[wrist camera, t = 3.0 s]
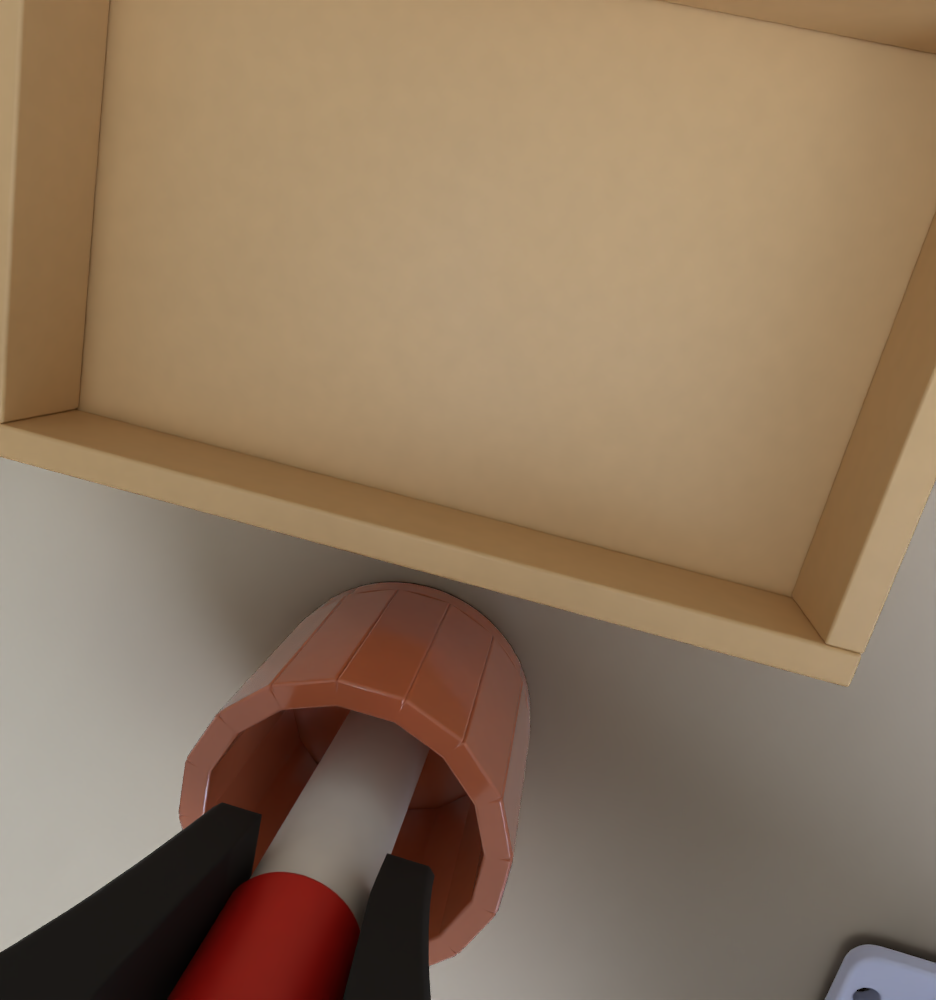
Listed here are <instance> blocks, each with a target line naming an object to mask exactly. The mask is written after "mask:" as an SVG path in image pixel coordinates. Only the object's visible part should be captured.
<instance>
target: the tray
mask: <svg viewBox="0 0 936 1000" xmlns="http://www.w3.org/2000/svg"><path fill="white" fill-rule="evenodd" d="M0 457H3V458H6V459H10V460H14V461H18V462H21V463H25V464H29V465H32V466H36V467H40V468H43V469H47V470H51V471H54V472H58V473H62V474H65V475H69V476H73V477H76V478H80V479H84V480H87V481H91V482H95V483H98V484H102V485H106V486H109V487H113V488H117V489H120V490H124V491H128V492H132V493H135V494H139V495H143V496H146V497H150V498H154V499H157V500H161V501H165V502H168V503H172V504H176V505H179V506H183V507H187V508H190V509H194V510H198V511H201V512H205V513H209V514H212V515H216V516H220V517H223V518H227V519H231V520H234V521H238V522H242V523H246V524H249V525H253V526H257V527H260V528H264V529H268V530H271V531H275V532H279V533H282V534H286V535H290V536H293V537H297V538H301V539H304V540H308V541H312V542H315V543H319V544H323V545H326V546H330V547H334V548H337V549H341V550H345V551H349V552H352V553H356V554H360V555H363V556H367V557H371V558H374V559H378V560H382V561H385V562H389V563H393V564H396V565H400V566H404V567H407V568H411V569H415V570H418V571H422V572H426V573H429V574H433V575H437V576H440V577H444V578H448V579H451V580H455V581H459V582H463V583H466V584H470V585H474V586H477V587H481V588H485V589H488V590H492V591H496V592H499V593H503V594H507V595H510V596H514V597H518V598H521V599H525V600H529V601H532V602H536V603H540V604H543V605H547V606H551V607H554V608H558V609H562V610H565V611H569V612H573V613H577V614H580V615H584V616H588V617H591V618H595V619H599V620H602V621H606V622H610V623H613V624H617V625H621V626H624V627H628V628H632V629H635V630H639V631H643V632H646V633H650V634H654V635H657V636H661V637H665V638H668V639H672V640H676V641H679V642H683V643H687V644H691V645H694V646H698V647H702V648H705V649H709V650H713V651H716V652H720V653H724V654H727V655H731V656H735V657H738V658H742V659H746V660H749V661H753V662H757V663H760V664H764V665H768V666H771V667H775V668H779V669H782V670H786V671H790V672H794V673H797V674H801V675H805V676H808V677H812V678H816V679H819V680H823V681H827V682H830V683H834V684H838V685H841V686H845V687H848V686H849V685H850V683H851V681H852V679H853V676H854V674H855V671H856V669H857V667H858V664H859V662H860V659H861V654H860V653H864V651H865V649H866V647H867V644H868V642H869V639H870V637H871V635H872V632H873V630H874V627H875V625H876V623H877V620H878V618H879V615H880V613H881V611H882V608H883V606H884V603H885V601H886V599H887V596H888V594H889V591H890V589H891V586H892V584H893V582H894V579H895V577H896V574H897V572H898V570H899V567H900V565H901V562H902V560H903V558H904V555H905V553H906V550H907V548H908V546H909V543H910V541H911V538H912V536H913V534H914V531H915V529H916V526H917V524H918V522H919V519H920V517H921V514H922V512H923V509H924V507H925V505H926V502H927V500H928V497H929V495H930V493H931V490H932V488H933V485H934V483H935V481H936V0H0Z"/></svg>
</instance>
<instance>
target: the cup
mask: <svg viewBox="0 0 936 1000" xmlns="http://www.w3.org/2000/svg"><path fill="white" fill-rule="evenodd" d="M351 710H353V711H356V712H360V713H363V714H367V715H370V716H373V717H377V718H380V719H384V720H387V721H390V722H394V723H396V724H397V725H398V726H400V727H401V728H403V729H404V730H405V731H407V732H408V733H409V734H411V735H412V736H414V737H415V738H416V739H418V740H419V741H421V742H422V743H423V744H425V745H426V746H427V747H429V748H430V749H429V752H428V755H427V757H426V760H425V763H424V766H423V768H422V771H421V774H420V776H419V779H418V782H417V785H416V787H415V790H414V793H413V796H412V798H411V801H410V804H409V806H408V809H407V812H406V815H405V817H404V820H403V823H402V826H401V828H400V831H399V834H398V836H397V839H396V842H395V845H394V847H393V850H392V853H391V855H394V856H398V857H401V858H404V859H407V860H411V861H414V862H417V863H420V864H424V865H427V866H429V867H430V868H431V870H432V872H433V873H434V875H435V877H434V881H433V887H432V894H431V902H430V914H429V966H431V965H433V964H436V963H439V962H441V961H444V960H446V959H449V958H451V957H454V956H456V955H457V953H460V952H461V951H462V950H463V949H464V948H465V947H466V946H467V945H468V944H469V943H470V942H471V941H472V940H473V939H474V937H475V936H476V935H477V934H478V933H479V932H480V931H481V930H482V929H483V928H484V927H485V926H486V925H487V924H488V923H489V922H490V921H491V920H492V919H493V918H494V917H495V915H496V913H497V912H498V910H499V907H500V904H501V900H502V897H503V893H504V890H505V886H506V883H507V880H508V876H509V873H510V869H511V866H512V863H513V857H514V850H515V842H516V835H517V827H518V820H519V812H520V805H521V798H522V790H523V783H524V775H525V768H526V761H527V753H528V746H529V738H530V728H531V725H530V697H529V690H528V686H527V682H526V678H525V675H524V672H523V670H522V667H521V664H520V662H519V660H518V658H517V656H516V654H515V653H514V651H513V649H512V647H511V646H510V644H509V643H508V642H507V640H506V639H505V638H504V636H503V635H502V633H501V632H500V631H499V630H498V629H497V628H496V627H495V626H494V625H493V624H492V623H491V622H490V621H489V620H488V619H487V618H486V617H484V616H483V615H482V614H481V613H480V612H478V611H477V610H476V609H474V608H473V607H471V606H470V605H468V604H466V603H465V602H463V601H462V600H460V599H458V598H456V597H454V596H452V595H449V594H447V593H445V592H442V591H439V590H436V589H433V588H430V587H426V586H422V585H417V584H412V583H400V582H387V583H375V584H369V585H364V586H360V587H357V588H354V589H351V590H347V591H345V592H343V593H341V594H339V595H337V596H335V597H333V598H331V599H330V600H328V601H327V602H325V603H324V604H322V605H321V606H320V607H319V608H317V609H316V610H315V611H314V612H313V613H312V614H311V615H309V616H307V617H306V618H305V619H304V620H303V621H302V622H301V623H300V624H299V625H298V626H297V627H296V628H295V629H294V630H293V632H292V633H291V634H290V635H289V636H288V637H287V638H286V639H285V640H284V641H283V642H282V643H281V645H280V646H279V647H278V648H277V649H276V650H275V651H274V652H273V653H272V654H271V655H270V657H269V658H268V659H267V660H266V661H265V662H264V663H263V664H262V665H261V666H260V667H259V669H258V670H257V671H256V672H255V673H254V674H253V675H252V676H251V677H250V678H249V679H248V680H247V682H246V683H245V684H244V685H243V686H242V687H241V688H240V689H239V690H238V691H237V692H236V694H235V695H234V696H233V697H232V698H231V699H230V700H229V701H228V702H227V703H226V704H225V706H224V707H223V708H222V709H221V710H220V711H219V712H218V713H217V714H216V716H215V717H214V718H213V720H212V721H211V723H210V724H209V726H208V727H207V729H206V730H205V732H204V733H203V734H202V736H201V737H200V739H199V740H198V742H197V743H196V745H195V746H194V747H193V749H192V750H191V752H190V753H189V755H188V757H187V760H186V762H185V769H184V776H183V784H182V791H181V798H180V806H179V814H180V815H179V819H180V823H181V826H182V830H183V829H185V828H186V827H187V826H189V825H190V824H191V823H193V822H194V821H195V820H197V819H198V818H199V817H201V816H202V815H203V814H205V813H206V812H207V811H208V810H210V809H211V808H212V807H214V806H216V805H218V804H220V803H222V802H223V803H226V804H230V805H233V806H236V807H239V808H243V809H246V810H249V811H252V812H255V813H259V814H262V818H261V824H260V829H259V835H258V841H257V847H256V852H255V858H254V864H253V870H252V874H253V872H254V871H255V869H256V867H257V866H258V864H259V862H260V861H261V859H262V857H263V856H264V854H265V852H266V851H267V849H268V847H269V846H270V844H271V842H272V841H273V839H274V837H275V836H276V834H277V832H278V831H279V829H280V827H281V826H282V824H283V822H284V821H285V819H286V817H287V816H288V814H289V812H290V811H291V809H292V807H293V806H294V804H295V802H296V801H297V799H298V797H299V796H300V794H301V792H302V791H303V789H304V787H305V786H306V784H307V782H308V781H309V779H310V777H311V776H312V774H313V772H314V771H315V769H316V767H317V766H318V764H319V762H320V761H321V759H322V757H323V756H324V754H325V752H326V751H327V749H328V747H329V746H330V744H331V742H332V741H333V739H334V737H335V736H336V734H337V732H338V731H339V729H340V727H341V726H342V724H343V722H344V721H345V719H346V717H347V716H348V714H349V712H350V711H351ZM251 876H252V875H251Z"/></svg>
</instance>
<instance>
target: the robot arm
mask: <svg viewBox="0 0 936 1000" xmlns="http://www.w3.org/2000/svg"><path fill="white" fill-rule="evenodd" d="M261 818H262V814H259V813H255V812H252V811H249V810H246V809H243V808H239V807H236V806H233V805H230V804H226V803H223V802H222V803H220V804H218V805H216V806H214V807H212V808H211V809H210V810H208V811H207V812H206V813H205V814H203V815H202V816H201V817H199V818H198V819H197V820H195V821H194V822H193V823H191V824H190V825H189V826H187V827H186V828H185V829H183V830H182V831H181V832H179V833H178V834H177V835H175V836H174V837H173V838H171V839H170V840H169V841H167V842H166V843H165V844H163V845H162V846H160V847H159V848H158V849H156V850H155V851H154V852H152V853H151V854H149V855H148V856H147V857H145V858H144V859H143V860H141V861H140V862H138V863H137V864H136V865H134V866H133V867H131V868H130V869H128V870H127V871H125V872H124V873H123V874H121V875H120V876H118V877H117V878H115V879H114V880H112V881H111V882H110V883H108V884H107V885H105V886H104V887H102V888H101V889H99V890H98V891H96V892H95V893H94V894H92V895H91V896H89V897H88V898H86V899H85V900H83V901H82V902H80V903H79V904H77V905H76V906H74V907H73V908H71V909H69V910H68V911H66V912H65V913H63V914H61V915H60V916H58V917H57V918H55V919H53V920H52V921H50V922H49V923H47V924H46V925H44V926H42V927H41V928H39V929H38V930H36V931H34V932H33V933H31V934H30V935H28V936H26V937H25V938H23V939H22V940H20V941H18V942H17V943H15V944H14V945H12V946H10V947H9V948H7V949H5V950H4V951H2V952H0V1000H167V998H168V997H169V995H170V994H171V992H172V990H173V989H174V987H175V985H176V984H177V982H178V981H179V979H180V977H181V976H182V974H183V972H184V971H185V969H186V968H187V966H188V964H189V963H190V961H191V959H192V958H193V956H194V955H195V953H196V951H197V950H198V948H199V946H200V945H201V943H202V942H203V940H204V938H205V937H206V935H207V933H208V932H209V930H210V929H211V927H212V925H213V924H214V922H215V920H216V919H217V917H218V916H219V914H220V912H221V911H222V909H223V908H224V906H225V904H226V903H227V901H228V899H229V898H230V896H231V895H232V893H233V892H234V891H235V890H236V889H237V888H238V887H239V886H240V885H241V884H243V883H244V882H246V881H247V880H249V879H250V877H251V875H252V870H253V864H254V858H255V852H256V847H257V841H258V835H259V829H260V824H261ZM434 877H435V875H434V873H433V872H432V870H431V868H430V867H429V866H427V865H424V864H420V863H417V862H414V861H411V860H407V859H404V858H401V857H398V856H394V855H391V854H388V853H387V855H386V857H385V859H384V861H383V864H382V866H381V868H380V870H379V873H378V875H377V877H376V880H375V882H374V885H373V887H372V889H371V892H370V895H369V899H368V903H367V907H366V910H365V914H364V918H363V922H362V926H361V930H360V934H359V938H358V942H357V946H356V950H355V953H354V957H353V961H352V965H351V969H350V973H349V977H348V981H347V985H346V989H345V993H344V997H343V1000H431V996H430V981H429V914H430V902H431V894H432V887H433V881H434ZM861 988H870V989H869V990H866V991H863V992H858V991H857V990H858V989H861ZM825 1000H936V963H934V962H931V961H928V960H924V959H921V958H918V957H915V956H911V955H908V954H905V953H901V952H898V951H895V950H891V949H888V948H885V947H881V946H877V945H870V944H866V945H860V946H857V947H855V948H854V949H852V950H850V951H849V952H848V954H847V955H846V956H845V957H844V960H843V962H842V964H841V966H840V968H839V970H838V972H837V975H836V977H835V979H834V981H833V983H832V985H831V987H830V990H829V992H828V994H827V996H826V998H825Z"/></svg>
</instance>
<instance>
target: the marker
mask: <svg viewBox="0 0 936 1000" xmlns="http://www.w3.org/2000/svg"><path fill="white" fill-rule="evenodd" d="M429 749H430V748H429V747H427V746H426V745H425V744H423V743H422V742H421V741H419V740H418V739H416V738H415V737H414V736H412V735H411V734H409V733H408V732H407V731H405V730H404V729H403V728H401V727H400V726H398V725H397V724H396V723H394V722H390V721H387V720H384V719H380V718H377V717H373V716H370V715H367V714H363V713H360V712H356V711H353V710H351V711H350V712H349V714H348V716H347V717H346V719H345V721H344V722H343V724H342V726H341V727H340V729H339V731H338V732H337V734H336V736H335V737H334V739H333V741H332V742H331V744H330V746H329V747H328V749H327V751H326V752H325V754H324V756H323V757H322V759H321V761H320V762H319V764H318V766H317V767H316V769H315V771H314V772H313V774H312V776H311V777H310V779H309V781H308V782H307V784H306V786H305V787H304V789H303V791H302V792H301V794H300V796H299V797H298V799H297V801H296V802H295V804H294V806H293V807H292V809H291V811H290V812H289V814H288V816H287V817H286V819H285V821H284V822H283V824H282V826H281V827H280V829H279V831H278V832H277V834H276V836H275V837H274V839H273V841H272V842H271V844H270V846H269V847H268V849H267V851H266V852H265V854H264V856H263V857H262V859H261V861H260V862H259V864H258V866H257V867H256V869H255V871H254V872H253V874H252V876H251V877H250V879H249V880H247V881H246V882H244V883H243V884H241V885H240V886H239V887H238V888H237V889H236V890H235V891H234V892H233V893H232V895H231V896H230V898H229V899H228V901H227V903H226V904H225V906H224V908H223V909H222V911H221V912H220V914H219V916H218V917H217V919H216V920H215V922H214V924H213V925H212V927H211V929H210V930H209V932H208V933H207V935H206V937H205V938H204V940H203V942H202V943H201V945H200V946H199V948H198V950H197V951H196V953H195V955H194V956H193V958H192V959H191V961H190V963H189V964H188V966H187V968H186V969H185V971H184V972H183V974H182V976H181V977H180V979H179V981H178V982H177V984H176V985H175V987H174V989H173V990H172V992H171V994H170V995H169V997H168V998H167V1000H343V997H344V993H345V989H346V985H347V981H348V977H349V973H350V969H351V965H352V961H353V957H354V953H355V950H356V946H357V942H358V938H359V934H360V930H361V926H362V922H363V918H364V914H365V910H366V907H367V903H368V899H369V895H370V892H371V889H372V887H373V885H374V882H375V880H376V877H377V875H378V873H379V870H380V868H381V866H382V864H383V861H384V859H385V857H386V855H387V853H388V854H391V853H392V850H393V847H394V845H395V842H396V839H397V836H398V834H399V831H400V828H401V826H402V823H403V820H404V817H405V815H406V812H407V809H408V806H409V804H410V801H411V798H412V796H413V793H414V790H415V787H416V785H417V782H418V779H419V776H420V774H421V771H422V768H423V766H424V763H425V760H426V757H427V755H428V752H429Z"/></svg>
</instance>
